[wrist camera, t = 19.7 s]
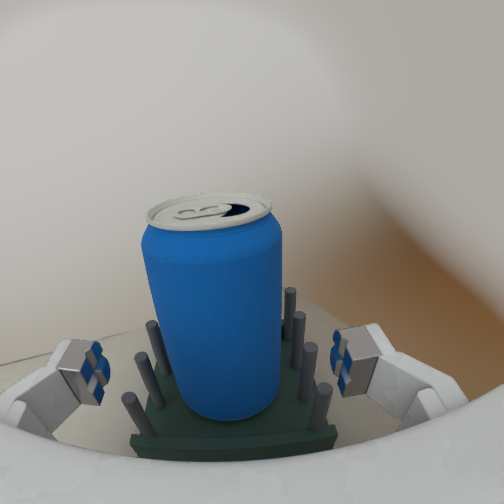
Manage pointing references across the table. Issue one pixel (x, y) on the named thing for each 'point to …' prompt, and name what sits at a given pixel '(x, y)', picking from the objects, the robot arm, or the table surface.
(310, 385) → the drying rack
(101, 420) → the table surface
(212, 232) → the beverage can
